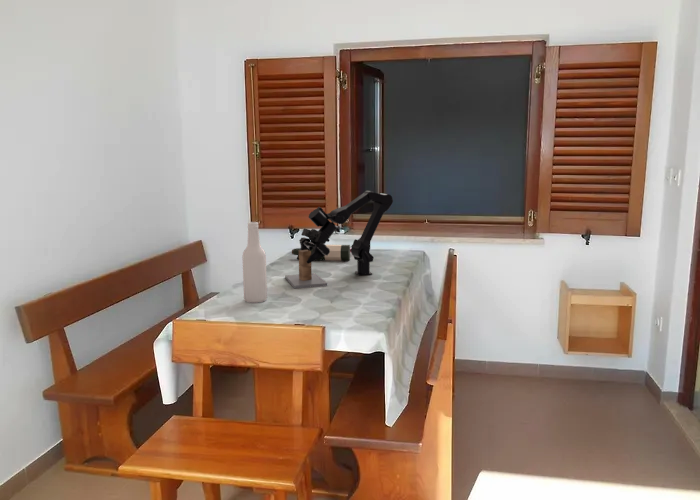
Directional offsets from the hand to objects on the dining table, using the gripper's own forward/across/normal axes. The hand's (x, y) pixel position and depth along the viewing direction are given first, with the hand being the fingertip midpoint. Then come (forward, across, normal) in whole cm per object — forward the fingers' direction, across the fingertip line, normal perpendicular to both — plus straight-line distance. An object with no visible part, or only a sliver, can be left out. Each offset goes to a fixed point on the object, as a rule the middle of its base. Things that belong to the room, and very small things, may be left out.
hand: (302, 261), depth 245 cm
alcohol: (+27, +16, -13) cm, 34 cm away
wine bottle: (-26, -30, +34) cm, 52 cm away
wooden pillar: (+5, 0, +7) cm, 8 cm away
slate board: (+6, 0, +8) cm, 9 cm away
